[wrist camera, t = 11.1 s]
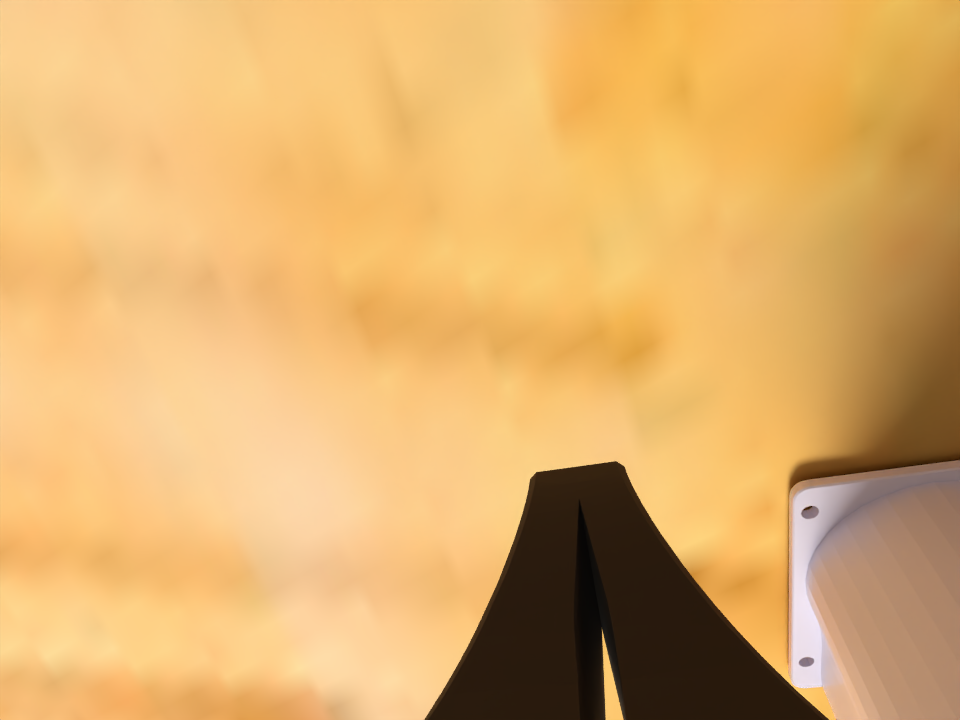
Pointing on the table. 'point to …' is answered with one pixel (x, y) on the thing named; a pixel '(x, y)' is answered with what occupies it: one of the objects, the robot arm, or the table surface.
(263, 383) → the table surface
